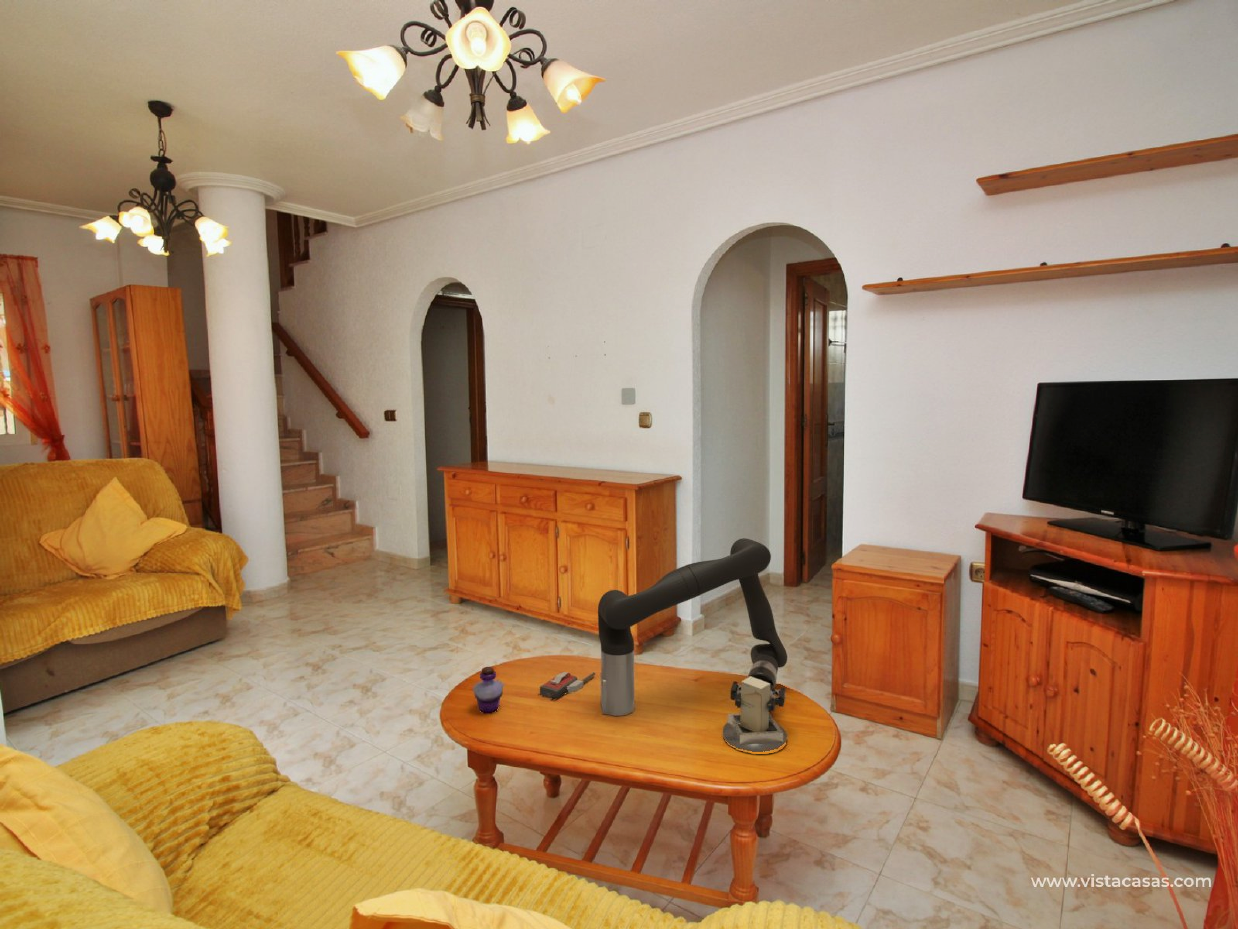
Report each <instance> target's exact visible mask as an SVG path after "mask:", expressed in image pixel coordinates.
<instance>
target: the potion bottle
mask: <svg viewBox="0 0 1238 929" xmlns="http://www.w3.org/2000/svg"><path fill="white" fill-rule="evenodd" d="M496 677H497V672H496V671H495V668H494V667H492V666H485V667H483V668H481V672H480V673H479V679H480V680H481V681H478V682H476V683H475V684H474V685H473V687H472V691H473V694H474V697H475V698H474V699H476V702H477V706H478V709H479V710H480V711H481V712H483V713H492V712H495V711H496V712H495V713H497V712H498V711H497V709H498V707H499V706H500V701H501V698H503V690H504V685H505V684H504V683H503V681H500V680H499V679H495V678H496ZM499 708H500V707H499ZM479 710H478V711H479ZM498 710H499V709H498ZM480 711H479V712H480ZM481 712H480V713H481ZM492 714H493V713H492Z"/></svg>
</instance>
